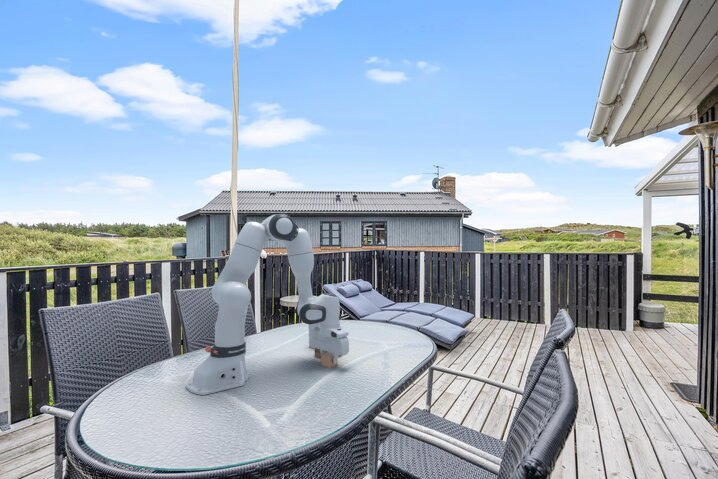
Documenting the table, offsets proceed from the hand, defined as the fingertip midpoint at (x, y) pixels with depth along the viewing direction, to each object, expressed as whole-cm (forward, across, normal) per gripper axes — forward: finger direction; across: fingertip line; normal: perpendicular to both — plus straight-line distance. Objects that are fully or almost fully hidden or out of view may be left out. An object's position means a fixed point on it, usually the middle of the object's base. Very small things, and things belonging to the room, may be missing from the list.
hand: (329, 361), depth 159 cm
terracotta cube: (+2, 0, 0) cm, 2 cm away
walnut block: (+2, -9, +8) cm, 12 cm away
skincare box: (+2, -23, +14) cm, 27 cm away
